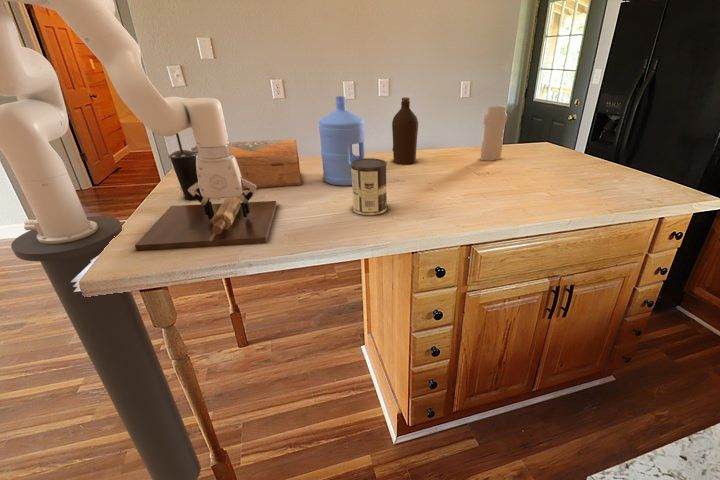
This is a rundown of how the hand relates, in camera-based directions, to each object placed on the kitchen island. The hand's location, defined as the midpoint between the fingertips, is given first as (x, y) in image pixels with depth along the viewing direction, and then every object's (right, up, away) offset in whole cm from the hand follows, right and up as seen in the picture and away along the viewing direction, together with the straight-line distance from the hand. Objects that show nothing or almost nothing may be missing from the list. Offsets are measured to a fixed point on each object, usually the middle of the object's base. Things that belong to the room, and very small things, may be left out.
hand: (229, 216), depth 106 cm
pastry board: (-4, -2, +1) cm, 5 cm away
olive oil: (+49, +31, +60) cm, 83 cm away
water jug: (+27, +18, +37) cm, 49 cm away
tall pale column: (+86, +33, +65) cm, 113 cm away
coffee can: (+37, +4, +12) cm, 40 cm away
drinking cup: (-20, +8, +19) cm, 29 cm away
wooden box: (-4, +17, +34) cm, 38 cm away
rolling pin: (0, +1, -1) cm, 1 cm away
